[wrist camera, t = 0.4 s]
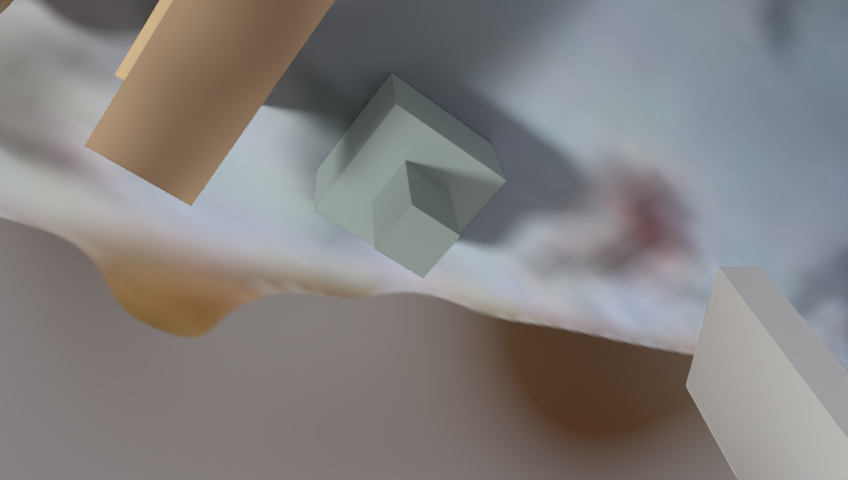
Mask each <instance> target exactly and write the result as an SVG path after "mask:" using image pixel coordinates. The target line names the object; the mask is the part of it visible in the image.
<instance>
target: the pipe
mask: <svg viewBox="0 0 848 480" xmlns="http://www.w3.org/2000/svg"><path fill="white" fill-rule="evenodd" d="M12 1H13V0H0V13H1V12H3V11H4V10H5V9H6V8H7V7H8V6H9V5H10V4H11V3H12Z"/></svg>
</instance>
